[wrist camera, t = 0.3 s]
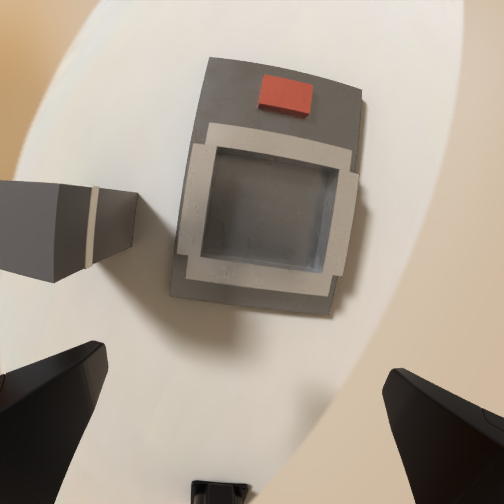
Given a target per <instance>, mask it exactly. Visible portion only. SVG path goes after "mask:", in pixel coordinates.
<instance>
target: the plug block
mask: <svg viewBox="0 0 504 504" xmlns="http://www.w3.org/2000/svg"><path fill="white" fill-rule="evenodd" d="M137 196H138V193H134V192H127V191H119V190H111V189H103V188H99V187H95V186H84V185H72V184H58V183H43V182H25V181H1V180H0V269H1V270H5V271H8V272H12V273H16V274H19V275H23V276H27V277H31V278H35V279H39V280H43V281H47V282H51V283H55V282H57V281H59V280H61V279H63V278H65V277H67V276H69V275H71V274H73V273H75V272H78V271H80V270H82V269H87V268H89V267H91V266H92V264H94V263H96V262H99V261H101V260H103V259H105V258H107V257H109V256H112V255H114V254H116V253H118V252H120V251H123V250H125V249H127V248H129V247H131V246H132V238H133V228H134V219H135V211H136V203H137Z"/></svg>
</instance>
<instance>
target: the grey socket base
mask: <svg viewBox="0 0 504 504" xmlns="http://www.w3.org/2000/svg"><path fill="white" fill-rule="evenodd" d="M361 98H362V90H361V89H358V88H355V87H352V86H349V85H346V84H342V83H339V82H336V81H332V80H329V79H325V78H322V77H318V76H314V75H310V74H306V73H302V72H298V71H294V70H289V69H284V68H280V67H275V66H269V65H264V64H258V63H252V62H246V61H239V60H231V59H223V58H214V57H209V61H208V65H207V69H206V73H205V77H204V81H203V85H202V90H201V94H200V99H199V103H198V108H197V112H196V117H195V122H194V127H193V132H192V137H191V142H190V148H189V153H188V159H187V164H186V170H185V176H184V182H183V189H182V195H181V202H180V209H179V216H178V223H177V231H176V239H175V248H174V257H173V266H172V276H171V287H170V296H173V297H179V298H186V299H193V300H200V301H207V302H214V303H221V304H229V305H237V306H245V307H253V308H262V309H271V310H280V311H290V312H300V313H311V314H323V315H329V312H330V307H331V303H332V299H333V294H334V290H335V285H336V280H337V276H343V271H344V266H345V261H346V256H347V251H348V245H349V240H350V234H351V228H352V222H353V216H354V210H355V203H356V196H357V189H358V181H359V174H356V173H355V165H356V156H357V147H358V137H359V126H360V113H361Z"/></svg>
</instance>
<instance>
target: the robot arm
mask: <svg viewBox="0 0 504 504" xmlns="http://www.w3.org/2000/svg"><path fill="white" fill-rule="evenodd" d="M107 372H108V359H107V352H106V346H105V344H104V343H102V342H98V341H89V342H87V343H84V344H82V345H79V346H77V347H74V348H72V349H69V350H66V351H64V352H61V353H59V354H56V355H53V356H51V357H48V358H45V359H43V360H40V361H38V362H35V363H32V364H30V365H27V366H24V367H22V368H19V369H16V370H13V371H11V372H8V373H6V375H5V374H2V375H0V504H54V503H55V500H56V498H57V495H58V492H59V490H60V487H61V485H62V482H63V480H64V477H65V475H66V472H67V470H68V467H69V465H70V463H71V460H72V458H73V456H74V453H75V451H76V449H77V447H78V444H79V442H80V440H81V438H82V435H83V433H84V431H85V429H86V427H87V425H88V422H89V420H90V418H91V416H92V414H93V412H94V409H95V406H96V404H97V401H98V398H99V395H100V392H101V389H102V386H103V383H104V380H105V378H106V375H107ZM382 395H383V399H384V402H385V407H386V411H387V415H388V419H389V423H390V427H391V430H392V433H393V436H394V439H395V442H396V445H397V448H398V451H399V453H400V456H401V459H402V462H403V465H404V468H405V471H406V474H407V477H408V480H409V483H410V487H411V490H412V493H413V496H414V500H415V503H416V504H504V418H503V417H501V416H498V415H496V414H494V413H492V412H490V411H488V410H486V409H483V408H481V407H479V406H477V405H475V404H473V403H471V402H469V401H467V400H465V399H463V398H461V397H459V396H457V395H454V394H453V393H451V392H449V391H447V390H445V389H443V388H441V387H439V386H437V385H435V384H433V383H431V382H429V381H427V380H425V379H423V378H421V377H419V376H417V375H415V374H414V373H412V372H410V371H408V370H406V369H404V368H394V369H392V370H391V371H390V373H389V375H388V377H387V380H386V382H385V384H384V386H383V389H382ZM247 492H248V485H246V484H228V483H214V482H203V481H192V485H191V504H244V501H245V498H246V495H247Z"/></svg>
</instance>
